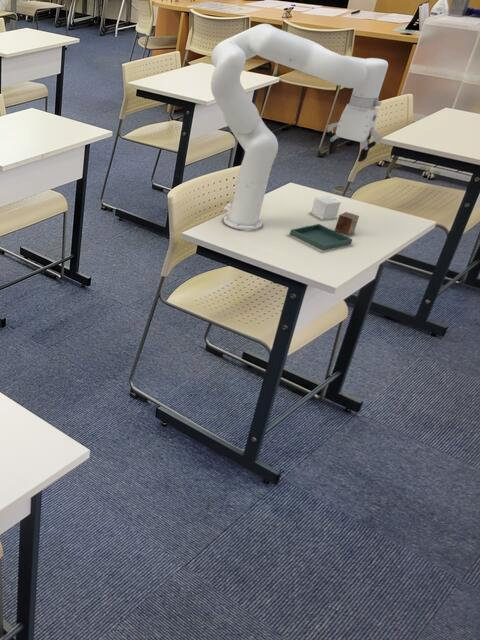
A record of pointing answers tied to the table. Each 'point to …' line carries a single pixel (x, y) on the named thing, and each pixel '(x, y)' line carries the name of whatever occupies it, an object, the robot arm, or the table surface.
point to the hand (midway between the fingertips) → (346, 157)
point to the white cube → (325, 207)
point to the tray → (320, 237)
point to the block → (346, 223)
